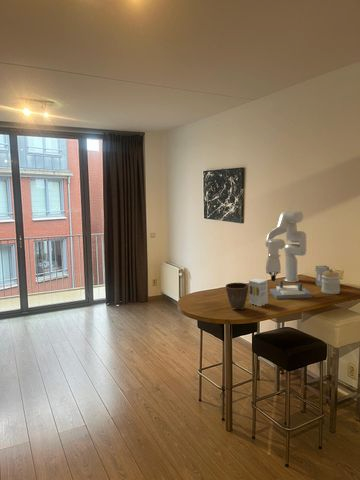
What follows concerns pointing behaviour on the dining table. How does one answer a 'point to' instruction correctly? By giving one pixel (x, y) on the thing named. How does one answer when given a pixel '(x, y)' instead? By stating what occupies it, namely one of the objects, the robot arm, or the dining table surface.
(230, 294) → the plant pot
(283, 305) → the dining table surface
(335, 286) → the jar
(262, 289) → the supplement box
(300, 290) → the breaker handle
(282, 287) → the breaker handle
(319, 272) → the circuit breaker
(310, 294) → the breaker panel
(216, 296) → the dining table surface
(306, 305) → the dining table surface
